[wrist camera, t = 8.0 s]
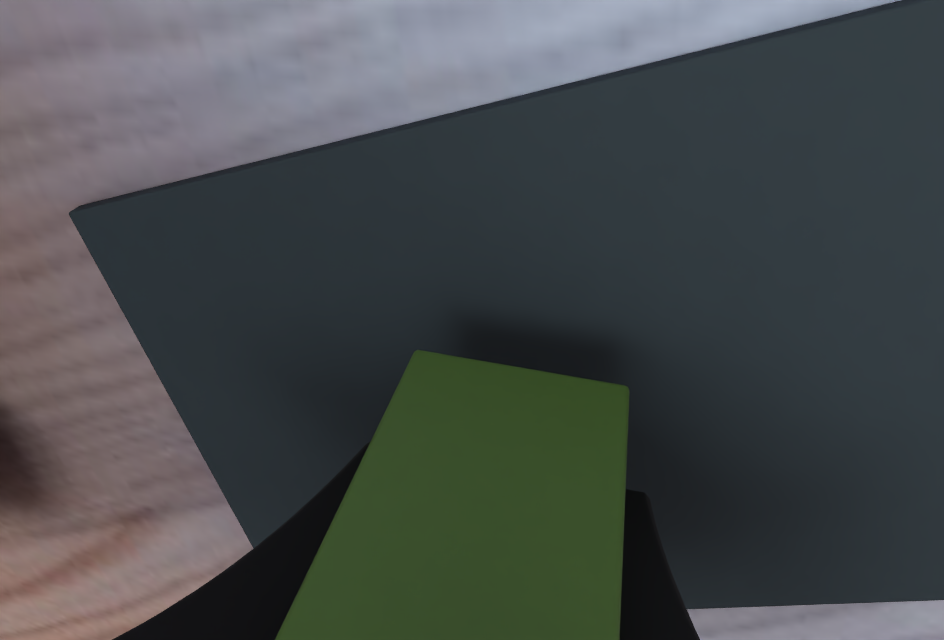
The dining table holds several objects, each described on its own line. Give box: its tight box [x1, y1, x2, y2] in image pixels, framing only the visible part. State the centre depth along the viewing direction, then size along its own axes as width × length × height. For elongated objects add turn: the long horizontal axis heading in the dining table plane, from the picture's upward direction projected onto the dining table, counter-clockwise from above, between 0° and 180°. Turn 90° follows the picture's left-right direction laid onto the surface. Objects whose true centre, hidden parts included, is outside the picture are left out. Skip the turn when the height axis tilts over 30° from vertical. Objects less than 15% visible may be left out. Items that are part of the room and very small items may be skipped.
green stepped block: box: [275, 350, 629, 640], centre depth 11 cm, size 5×4×6 cm
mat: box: [69, 0, 944, 609], centre depth 16 cm, size 12×16×1 cm
